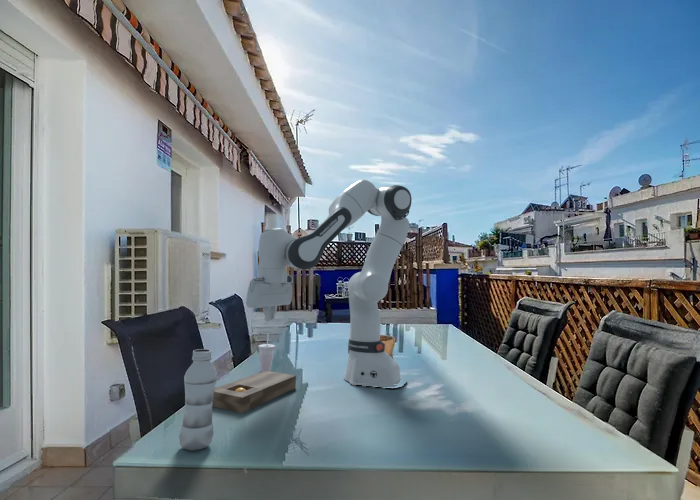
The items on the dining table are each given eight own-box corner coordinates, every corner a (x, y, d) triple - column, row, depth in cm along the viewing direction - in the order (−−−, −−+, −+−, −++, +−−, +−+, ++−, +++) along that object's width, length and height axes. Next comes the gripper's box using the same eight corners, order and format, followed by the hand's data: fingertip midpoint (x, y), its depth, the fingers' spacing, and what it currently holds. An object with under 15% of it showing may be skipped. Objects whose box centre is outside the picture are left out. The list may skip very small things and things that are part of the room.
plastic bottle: (184, 440, 82) (190, 347, 83) (216, 440, 82) (222, 348, 84) (173, 454, 75) (180, 353, 77) (208, 454, 76) (214, 354, 77)
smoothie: (276, 369, 145) (278, 333, 146) (271, 374, 139) (273, 335, 140) (260, 368, 146) (262, 332, 147) (254, 373, 139) (256, 334, 140)
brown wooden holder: (295, 388, 123) (295, 375, 123) (241, 413, 99) (242, 397, 99) (265, 382, 128) (266, 370, 128) (207, 405, 104) (208, 390, 104)
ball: (250, 400, 109) (250, 386, 108) (241, 405, 105) (241, 391, 105) (239, 398, 110) (239, 384, 110) (230, 403, 106) (230, 389, 106)
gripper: (259, 277, 112) (257, 324, 111) (295, 277, 130) (294, 318, 129) (242, 277, 114) (240, 323, 113) (280, 277, 133) (279, 316, 132)
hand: (269, 320), depth 121 cm, fingers closed
